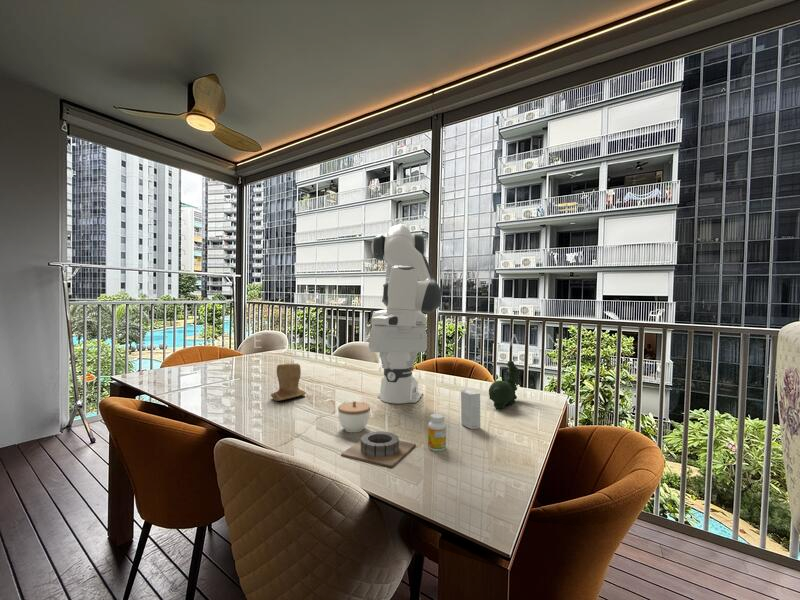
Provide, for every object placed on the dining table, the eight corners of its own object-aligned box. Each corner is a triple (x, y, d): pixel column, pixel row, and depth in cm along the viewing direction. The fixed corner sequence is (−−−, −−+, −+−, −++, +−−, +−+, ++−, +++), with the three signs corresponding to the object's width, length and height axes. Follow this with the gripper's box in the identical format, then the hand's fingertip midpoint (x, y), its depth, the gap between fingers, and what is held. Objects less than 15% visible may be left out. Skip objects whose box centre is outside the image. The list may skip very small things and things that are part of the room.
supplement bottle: (426, 444, 114) (427, 412, 114) (443, 444, 115) (444, 412, 115) (429, 451, 109) (429, 418, 109) (447, 451, 109) (448, 418, 109)
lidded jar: (343, 437, 119) (344, 408, 118) (333, 426, 128) (334, 399, 128) (374, 432, 124) (375, 403, 123) (362, 422, 133) (363, 395, 133)
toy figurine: (501, 400, 169) (481, 409, 148) (503, 358, 170) (484, 361, 149) (522, 404, 164) (505, 414, 143) (524, 361, 165) (507, 364, 144)
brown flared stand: (292, 391, 172) (293, 359, 171) (309, 396, 165) (310, 362, 164) (263, 398, 159) (263, 363, 159) (280, 404, 152) (280, 367, 152)
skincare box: (480, 428, 129) (481, 393, 129) (470, 430, 127) (471, 394, 127) (470, 422, 135) (470, 389, 134) (459, 424, 133) (460, 390, 132)
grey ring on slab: (369, 436, 120) (370, 425, 120) (415, 446, 113) (415, 434, 113) (341, 455, 105) (341, 442, 105) (391, 468, 98) (391, 454, 98)
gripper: (418, 321, 118) (415, 365, 117) (367, 317, 104) (363, 367, 103) (433, 322, 113) (430, 368, 112) (381, 318, 99) (378, 370, 99)
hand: (398, 368), depth 108 cm, fingers open, 8 cm apart
